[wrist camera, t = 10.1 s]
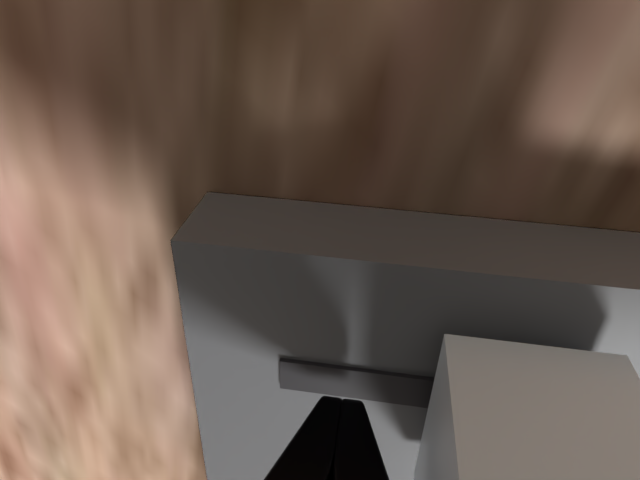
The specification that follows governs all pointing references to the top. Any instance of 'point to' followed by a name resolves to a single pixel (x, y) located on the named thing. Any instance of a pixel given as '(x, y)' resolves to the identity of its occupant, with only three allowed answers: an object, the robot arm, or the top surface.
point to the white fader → (530, 414)
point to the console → (373, 312)
